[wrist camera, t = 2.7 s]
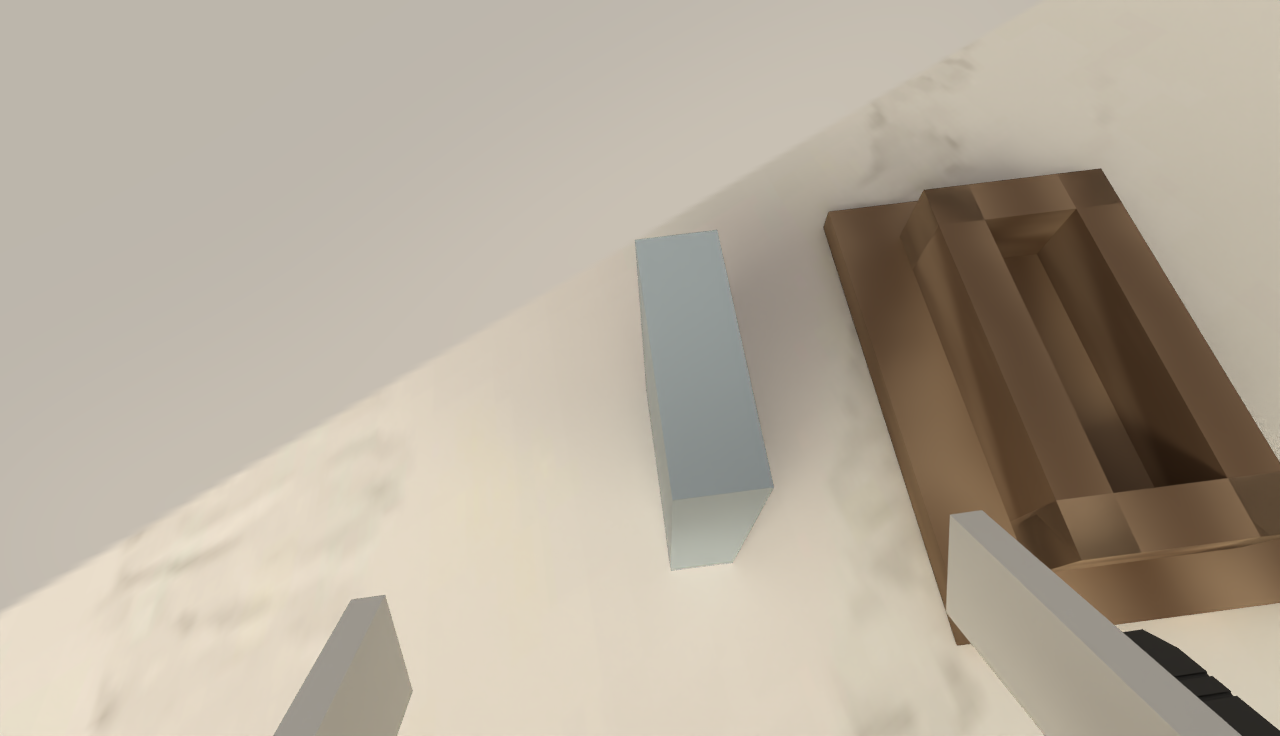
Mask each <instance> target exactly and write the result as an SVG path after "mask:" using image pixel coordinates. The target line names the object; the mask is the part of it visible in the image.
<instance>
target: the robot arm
mask: <svg viewBox="0 0 1280 736" xmlns="http://www.w3.org/2000/svg"><path fill="white" fill-rule="evenodd" d="M946 613H947V614H948V615H949V617H950V618H951V619H952V620H953V622H954V623H955V624H956V625H957V627H958V628H959V629H960V630H961V632H962V633H963V634H964V635H965V637H966V638H967V639H968V640H969V642H970V643H971V644H972V645H973V647H974V648H975V649H976V650H977V652H978V653H979V654H980V655H981V657H982V658H983V659H984V660H985V662H986V663H987V664H988V665H989V667H990V668H991V669H992V670H993V672H994V673H995V674H996V675H997V677H998V678H999V679H1000V680H1001V682H1002V683H1003V684H1004V685H1005V687H1006V688H1007V689H1008V690H1009V692H1010V693H1011V694H1012V695H1013V697H1014V698H1015V699H1016V700H1017V702H1018V703H1019V704H1020V705H1021V707H1022V708H1023V709H1024V710H1025V712H1026V713H1027V714H1028V715H1029V717H1030V718H1031V719H1032V720H1033V722H1034V723H1035V724H1036V725H1037V727H1038V728H1039V729H1040V730H1041V732H1042V733H1043V734H1044V735H1045V736H1280V731H1279V730H1278V729H1277V728H1276V727H1274V726H1273V725H1272V724H1271V723H1270V722H1268V721H1267V720H1266V719H1265V718H1263V717H1262V716H1261V715H1260V714H1258V713H1257V712H1256V711H1255V710H1254V709H1252V708H1251V707H1250V706H1249V705H1247V704H1246V703H1245V702H1244V701H1242V700H1241V699H1240V698H1239V697H1238V696H1233V695H1232V694H1231V691H1230V690H1229V689H1228V688H1226V687H1225V686H1224V685H1223V684H1222V683H1220V682H1219V681H1218V680H1217V679H1215V678H1214V677H1213V676H1208V674H1207V671H1206V670H1204V669H1203V668H1202V667H1201V666H1199V665H1198V664H1197V663H1196V662H1195V661H1193V660H1192V659H1191V658H1190V657H1188V656H1187V655H1186V654H1185V653H1183V652H1182V651H1181V650H1180V649H1179V648H1177V647H1175V646H1173V645H1171V644H1169V643H1167V642H1165V641H1164V640H1162V639H1160V638H1158V637H1156V636H1154V635H1152V634H1150V633H1148V632H1146V631H1144V630H1143V629H1142V630H1136V631H1129V632H1122V631H1121V630H1119V629H1118V628H1117V627H1116V626H1115V625H1114V624H1113V623H1111V622H1110V621H1109V620H1108V619H1107V618H1106V617H1104V616H1103V615H1102V614H1101V613H1100V612H1099V611H1098V610H1096V609H1095V608H1094V607H1093V606H1092V605H1091V604H1090V603H1088V602H1087V601H1086V600H1085V599H1084V598H1083V597H1081V596H1080V595H1079V594H1078V593H1077V592H1076V591H1075V590H1073V589H1072V588H1071V587H1070V586H1069V585H1068V584H1066V583H1065V582H1064V581H1063V580H1062V579H1061V578H1060V577H1058V576H1057V575H1056V574H1055V573H1054V572H1053V571H1052V570H1050V569H1049V568H1048V567H1047V566H1046V565H1045V564H1043V563H1042V562H1041V561H1040V560H1039V559H1038V558H1037V557H1035V556H1034V555H1033V554H1032V553H1031V552H1030V551H1028V550H1027V549H1026V548H1025V547H1024V546H1023V545H1022V544H1020V543H1019V542H1018V541H1017V540H1016V539H1015V538H1014V537H1012V536H1011V535H1010V534H1009V533H1008V532H1007V531H1005V530H1004V529H1003V528H1002V527H1001V526H1000V525H999V524H997V523H996V522H995V521H994V520H993V519H992V518H990V517H989V516H988V515H987V514H986V513H985V512H984V511H982V510H979V511H972V512H965V513H958V514H951V515H950V526H949V550H948V575H947V599H946ZM412 691H413V690H412V687H411V683H410V680H409V676H408V673H407V669H406V666H405V662H404V659H403V655H402V652H401V648H400V645H399V641H398V638H397V635H396V631H395V628H394V624H393V621H392V617H391V614H390V610H389V607H388V603H387V600H386V596H385V595H381V596H374V597H367V598H360V599H353V600H351V601H350V603H349V604H348V606H347V608H346V610H345V611H344V613H343V615H342V617H341V618H340V620H339V622H338V624H337V625H336V627H335V629H334V631H333V632H332V634H331V636H330V638H329V639H328V641H327V643H326V645H325V646H324V648H323V650H322V652H321V653H320V655H319V657H318V659H317V660H316V662H315V664H314V666H313V667H312V669H311V671H310V673H309V674H308V676H307V678H306V680H305V681H304V683H303V685H302V687H301V688H300V690H299V692H298V694H297V695H296V697H295V699H294V701H293V702H292V704H291V706H290V708H289V709H288V711H287V713H286V715H285V716H284V718H283V720H282V722H281V723H280V725H279V727H278V729H277V730H276V732H275V734H274V735H273V736H397V734H398V731H399V728H400V725H401V723H402V720H403V717H404V714H405V711H406V708H407V706H408V703H409V700H410V697H411V694H412Z"/></svg>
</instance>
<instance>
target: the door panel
mask: <svg viewBox="0 0 1280 736" xmlns="http://www.w3.org/2000/svg"><path fill="white" fill-rule="evenodd" d="M635 246H636V259H637V272H638V286H639V299H640V312H641V325H642V338H643V351H644V365H645V378H646V391H647V398H648V406H649V413H650V421H651V428H652V435H653V443H654V450H655V457H656V465H657V472H658V480H659V487H660V494H661V502H662V509H663V516H664V524H665V531H666V539H667V546H668V553H669V561H670V568H671V571H673V570H681V569H689V568H696V567H704V566H712V565H719V564H727V563H733V561H734V559H735V557H736V555H737V554H738V552H739V550H740V548H741V546H742V544H743V543H744V541H745V539H746V537H747V535H748V534H749V532H750V530H751V528H752V526H753V524H754V523H755V521H756V519H757V517H758V515H759V514H760V512H761V510H762V508H763V506H764V504H765V503H766V501H767V499H768V497H769V495H770V493H771V492H772V490H773V488H774V486H773V481H772V477H771V472H770V467H769V463H768V458H767V454H766V449H765V445H764V440H763V436H762V431H761V427H760V422H759V418H758V413H757V408H756V404H755V399H754V395H753V390H752V386H751V381H750V377H749V372H748V368H747V363H746V359H745V354H744V350H743V345H742V340H741V336H740V331H739V327H738V322H737V318H736V313H735V309H734V304H733V300H732V295H731V291H730V286H729V282H728V277H727V272H726V268H725V263H724V259H723V254H722V250H721V245H720V241H719V236H718V232H717V230H713V231H705V232H697V233H688V234H680V235H672V236H663V237H655V238H647V239H639V240H635Z"/></svg>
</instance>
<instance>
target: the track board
mask: <svg viewBox="0 0 1280 736" xmlns="http://www.w3.org/2000/svg"><path fill="white" fill-rule="evenodd" d="M824 231H825V234H826V237H827V240H828V243H829V246H830V249H831V253H832V256H833V259H834V262H835V265H836V268H837V271H838V274H839V278H840V281H841V284H842V287H843V290H844V293H845V296H846V300H847V303H848V306H849V309H850V312H851V315H852V318H853V321H854V325H855V328H856V331H857V334H858V337H859V340H860V343H861V347H862V350H863V353H864V356H865V359H866V362H867V365H868V368H869V372H870V375H871V378H872V381H873V384H874V387H875V390H876V394H877V397H878V400H879V403H880V406H881V409H882V412H883V415H884V419H885V422H886V425H887V428H888V431H889V434H890V437H891V441H892V444H893V447H894V450H895V453H896V456H897V459H898V462H899V466H900V469H901V472H902V475H903V478H904V481H905V484H906V488H907V491H908V494H909V497H910V500H911V503H912V506H913V509H914V513H915V516H916V519H917V522H918V525H919V528H920V531H921V535H922V538H923V541H924V544H925V547H926V550H927V553H928V556H929V560H930V563H931V566H932V569H933V572H934V575H935V578H936V582H937V585H938V588H939V591H940V594H941V597H942V600H943V604H944V607H945V610H946V599H947V575H948V550H949V526H950V515H951V514H958V513H965V512H972V511H979V510H982V511H984V512H985V513H986V514H987V515H988V516H989V517H990V518H992V519H993V520H994V521H995V522H996V523H997V524H999V525H1000V526H1001V527H1002V528H1003V529H1004V530H1005V531H1007V532H1008V533H1009V534H1010V535H1011V536H1012V537H1014V538H1015V539H1016V540H1017V541H1018V542H1019V543H1020V544H1022V545H1023V546H1024V547H1025V548H1026V549H1027V550H1028V551H1030V552H1031V553H1032V554H1033V555H1034V556H1035V557H1037V558H1038V559H1039V560H1040V561H1041V562H1042V563H1043V564H1045V565H1046V566H1047V567H1048V568H1049V569H1050V570H1052V571H1053V572H1054V573H1055V574H1056V575H1057V576H1058V577H1060V578H1061V579H1062V580H1063V581H1064V582H1065V583H1066V584H1068V585H1069V586H1070V587H1071V588H1072V589H1073V590H1075V591H1076V592H1077V593H1078V594H1079V595H1080V596H1081V597H1083V598H1084V599H1085V600H1086V601H1087V602H1088V603H1090V604H1091V605H1092V606H1093V607H1094V608H1095V609H1096V610H1098V611H1099V612H1100V613H1101V614H1102V615H1103V616H1104V617H1106V618H1107V619H1108V620H1109V621H1110V622H1111V623H1113V624H1114V625H1116V624H1124V623H1132V622H1139V621H1147V620H1154V619H1162V618H1169V617H1177V616H1184V615H1192V614H1199V613H1207V612H1214V611H1222V610H1229V609H1237V608H1244V607H1252V606H1259V605H1267V604H1274V603H1280V462H1279V461H1278V459H1277V457H1276V456H1275V454H1274V452H1273V451H1272V449H1271V447H1270V446H1269V444H1268V442H1267V441H1266V439H1265V437H1264V436H1263V434H1262V433H1261V431H1260V429H1259V428H1258V426H1257V424H1256V423H1255V421H1254V419H1253V418H1252V416H1251V414H1250V413H1249V411H1248V410H1247V408H1246V406H1245V405H1244V403H1243V401H1242V400H1241V398H1240V396H1239V395H1238V393H1237V391H1236V390H1235V388H1234V386H1233V385H1232V383H1231V382H1230V380H1229V378H1228V377H1227V375H1226V373H1225V372H1224V370H1223V368H1222V367H1221V365H1220V363H1219V362H1218V360H1217V359H1216V357H1215V355H1214V354H1213V352H1212V350H1211V349H1210V347H1209V345H1208V344H1207V342H1206V340H1205V339H1204V337H1203V335H1202V334H1201V332H1200V331H1199V329H1198V327H1197V326H1196V324H1195V322H1194V321H1193V319H1192V317H1191V316H1190V314H1189V312H1188V311H1187V309H1186V308H1185V306H1184V304H1183V303H1182V301H1181V299H1180V298H1179V296H1178V294H1177V293H1176V291H1175V289H1174V288H1173V286H1172V284H1171V283H1170V281H1169V280H1168V278H1167V276H1166V275H1165V273H1164V271H1163V270H1162V268H1161V266H1160V265H1159V263H1158V261H1157V260H1156V258H1155V257H1154V255H1153V253H1152V252H1151V250H1150V248H1149V247H1148V245H1147V243H1146V242H1145V240H1144V238H1143V237H1142V235H1141V233H1140V232H1139V230H1138V229H1137V227H1136V225H1135V224H1134V222H1133V220H1132V219H1131V217H1130V215H1129V214H1128V212H1127V210H1126V209H1125V207H1124V206H1123V204H1122V202H1121V201H1120V199H1119V197H1118V196H1117V194H1116V192H1115V191H1114V189H1113V187H1112V186H1111V184H1110V182H1109V181H1108V179H1107V178H1106V176H1105V174H1104V173H1103V171H1102V169H1093V170H1085V171H1076V172H1068V173H1060V174H1052V175H1043V176H1035V177H1027V178H1018V179H1010V180H1002V181H994V182H985V183H977V184H969V185H960V186H952V187H944V188H936V189H927V190H924V191H923V192H922V194H921V196H920V198H919V200H918V201H913V202H905V203H897V204H888V205H880V206H872V207H864V208H855V209H847V210H839V211H830V212H828V215H827V218H826V221H825V224H824ZM947 616H948V619H949V622H950V625H951V629H952V632H953V635H954V638H955V641H956V644H957V645H965V644H971V643H970V642H969V640H968V639H967V638H966V637H965V635H964V634H963V633H962V632H961V630H960V629H959V628H958V627H957V625H956V624H955V623H954V622H953V620H952V619H951V618H950V617H949V615H948V614H947Z"/></svg>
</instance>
